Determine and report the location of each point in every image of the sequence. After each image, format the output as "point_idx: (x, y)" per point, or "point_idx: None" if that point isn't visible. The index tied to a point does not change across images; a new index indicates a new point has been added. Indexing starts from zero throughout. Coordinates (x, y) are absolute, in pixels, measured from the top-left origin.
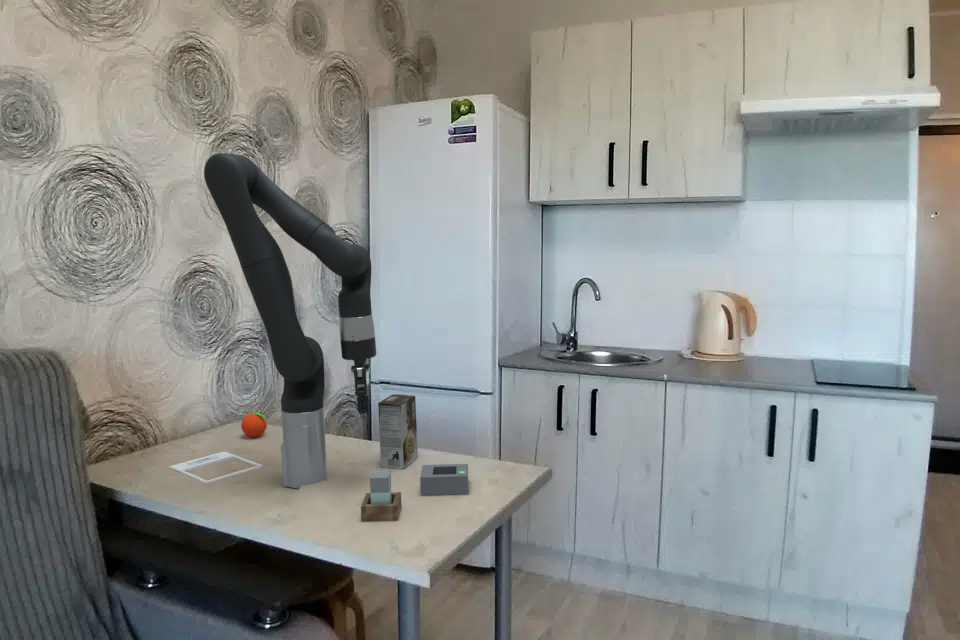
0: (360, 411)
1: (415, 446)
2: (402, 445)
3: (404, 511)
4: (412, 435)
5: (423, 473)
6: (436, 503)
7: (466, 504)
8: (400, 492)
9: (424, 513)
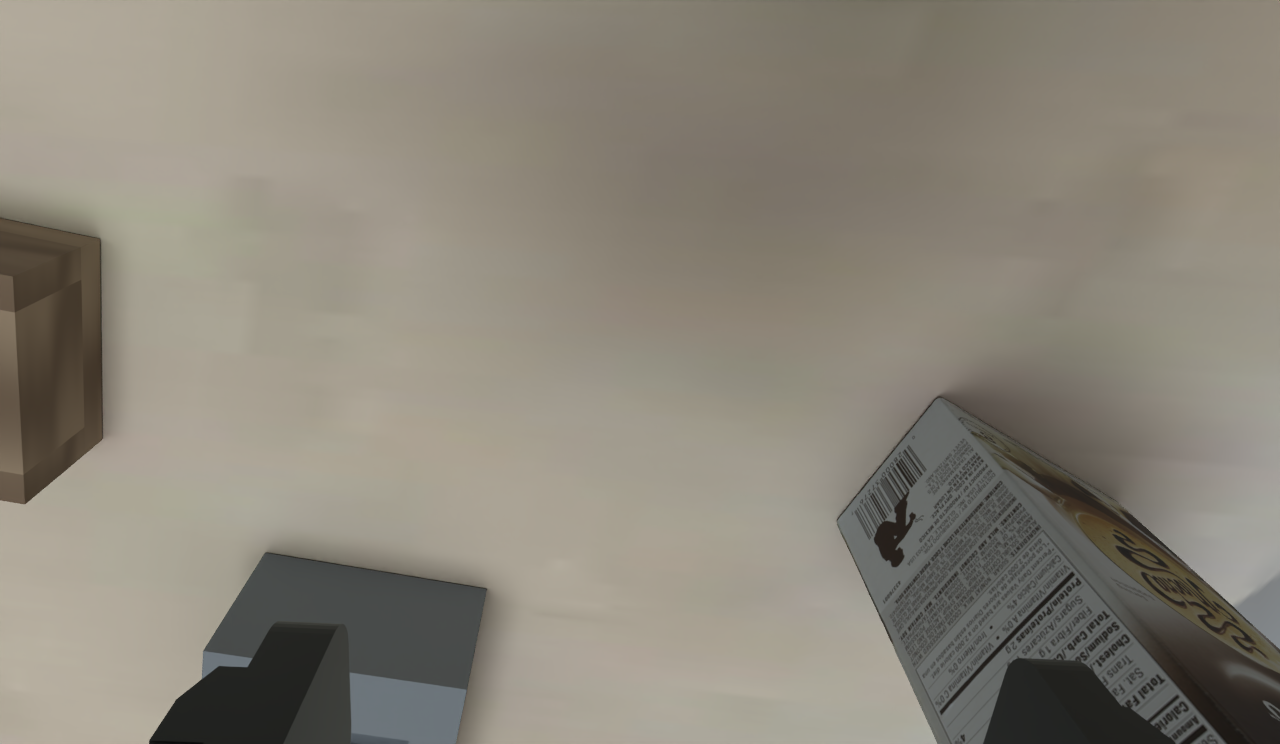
0: (215, 676)
1: None
2: (887, 630)
3: (100, 453)
4: None
5: None
6: (210, 617)
7: None
8: (16, 501)
9: (63, 546)
